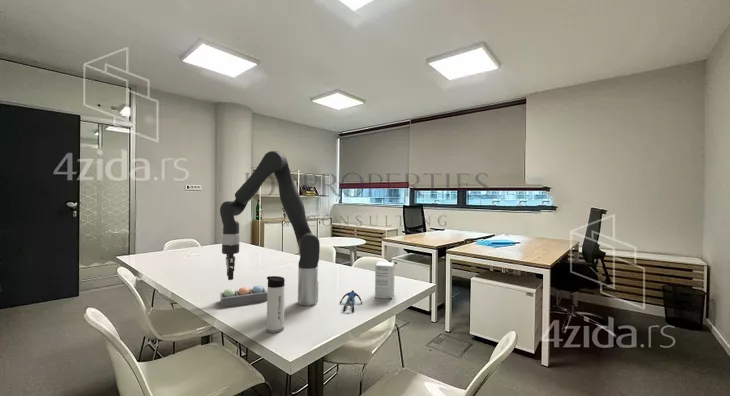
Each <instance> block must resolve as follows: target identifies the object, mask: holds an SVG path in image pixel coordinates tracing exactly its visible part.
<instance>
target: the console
mask: <svg viewBox="0 0 730 396" xmlns="http://www.w3.org/2000/svg"><path fill="white" fill-rule="evenodd" d="M219 302H220V306H221V308H224V309H225V308H230V307H235V306H236V307H237V306H243V305H250V304H257V303H263V302H267V290H266V289H265V287H264V286H263V292H260V293H253V288H249V294H245V295H239V290H235V296H229V297H224V291H223V292H220V301H219Z"/></svg>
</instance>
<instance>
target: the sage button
mask: <svg viewBox="0 0 730 396" xmlns="http://www.w3.org/2000/svg"><path fill="white" fill-rule="evenodd" d="M235 291H236V289H233V288H228V289H225V290H224V291H223V292H224V297H229V296H235Z"/></svg>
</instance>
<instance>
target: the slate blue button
mask: <svg viewBox="0 0 730 396" xmlns="http://www.w3.org/2000/svg"><path fill="white" fill-rule="evenodd" d="M263 287H264V286H263V285H254V286H253V287H252V289H253V293H260V292H263Z"/></svg>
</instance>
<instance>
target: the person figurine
mask: <svg viewBox="0 0 730 396" xmlns="http://www.w3.org/2000/svg"><path fill="white" fill-rule="evenodd" d="M347 296H348V297H347ZM346 297H347V299H346V302H345V303H344V305H343V308H342V309H343V310H342V311H343V312H344V311H346V310H347V311H348V310H349V311H350V310H351V312H352V313H355V297H358V299H359V301H360V304H361V305H363V302H362V298H361V296H360V295H359V294H358V293H357V292H355V291H354V289H353V290H351V291H348V292H347V293H346V294H344V295H343V296H342V298H341V299H340V301H339V304H342V303H343V300H344V299H345V298H346ZM350 302H351V304H352V306H350V305H348V304H349V303H350ZM347 305H348V306H347ZM351 307H352V308H351ZM347 311H346V312H347Z"/></svg>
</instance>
